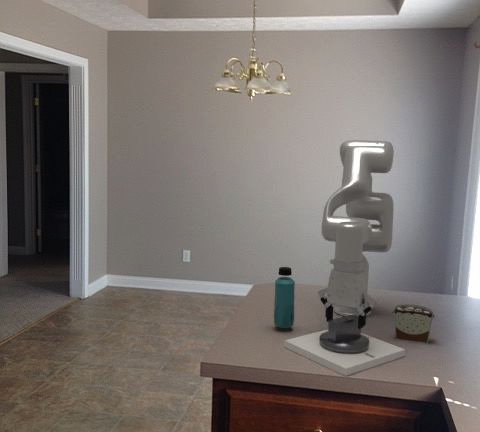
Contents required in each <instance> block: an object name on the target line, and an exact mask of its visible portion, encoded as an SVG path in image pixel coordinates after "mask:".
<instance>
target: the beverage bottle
mask: <svg viewBox="0 0 480 432" xmlns="http://www.w3.org/2000/svg"><path fill="white" fill-rule="evenodd" d="M278 275H279V276H280V277H278V278H277V279H276V280H274V283H275V284H274V303H273V324H274V326H276V327H278V328H284V329H287V328H288V329H289V328H292V327H293V326H294V325H295V305H296V304H295V298H296V297H295V284H296V282H295V280H294V279H293V278H291V276H292V268H291V267H288V266H281V267H280V266H279V268H278ZM289 276H290V277H289Z"/></svg>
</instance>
